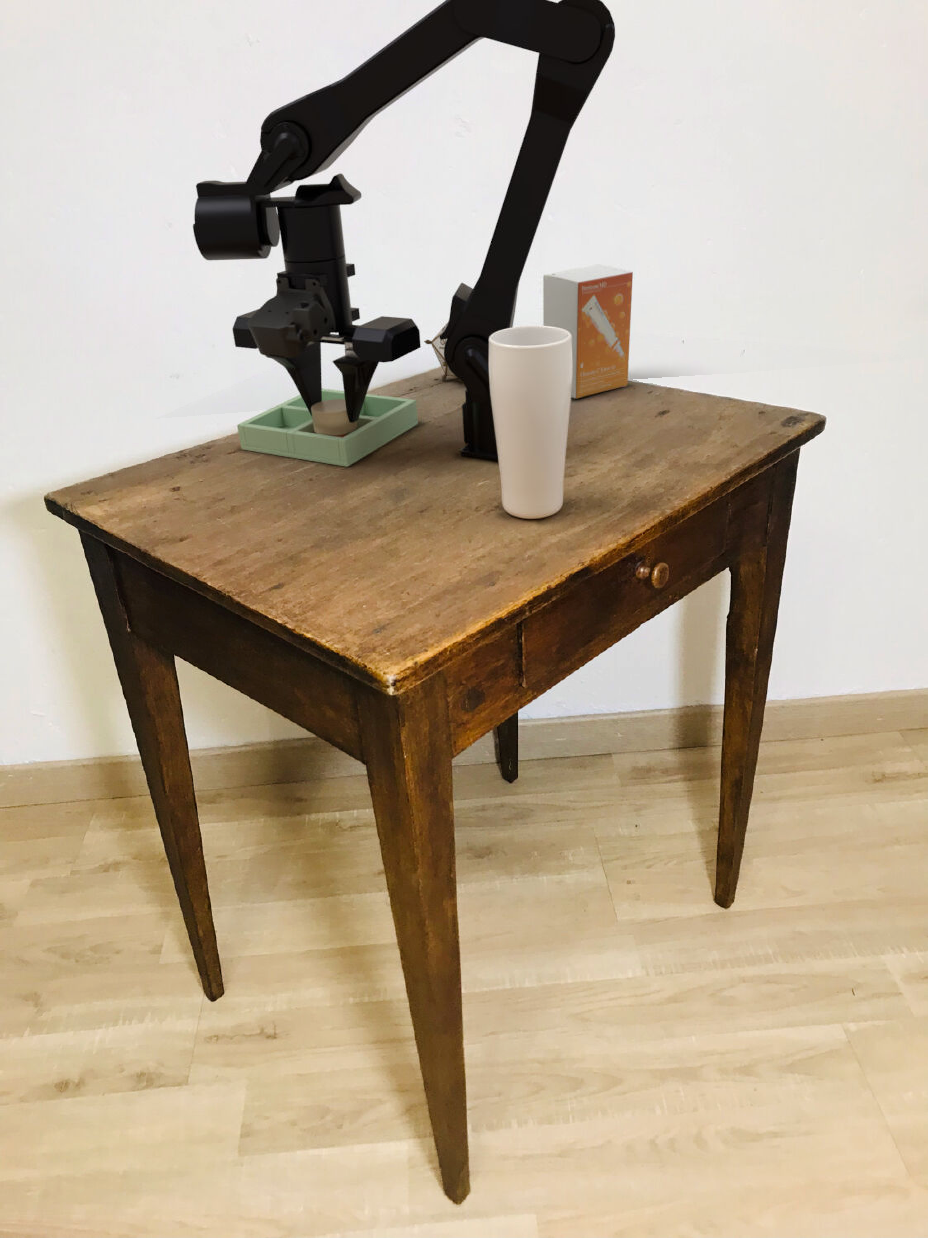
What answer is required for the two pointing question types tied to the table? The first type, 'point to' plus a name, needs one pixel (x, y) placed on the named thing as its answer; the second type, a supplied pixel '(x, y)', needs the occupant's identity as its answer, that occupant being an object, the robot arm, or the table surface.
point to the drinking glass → (531, 415)
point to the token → (331, 418)
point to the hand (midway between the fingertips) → (334, 418)
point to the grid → (296, 438)
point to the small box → (592, 323)
